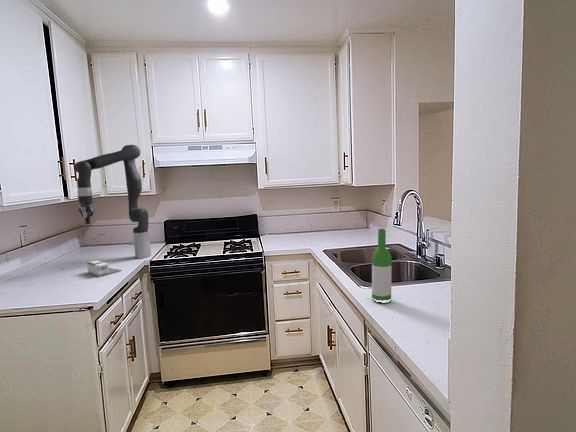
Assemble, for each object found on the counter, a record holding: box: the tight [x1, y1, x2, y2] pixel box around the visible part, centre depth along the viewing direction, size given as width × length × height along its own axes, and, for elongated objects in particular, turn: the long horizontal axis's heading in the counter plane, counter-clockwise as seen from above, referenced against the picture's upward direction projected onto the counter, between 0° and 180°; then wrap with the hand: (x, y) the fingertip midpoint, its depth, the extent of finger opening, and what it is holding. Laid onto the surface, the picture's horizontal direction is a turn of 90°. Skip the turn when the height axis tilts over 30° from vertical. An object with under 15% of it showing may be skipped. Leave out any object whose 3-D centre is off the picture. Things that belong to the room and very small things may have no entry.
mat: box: [84, 267, 122, 278], centre depth 198 cm, size 14×12×1 cm
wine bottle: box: [371, 228, 392, 301], centre depth 141 cm, size 8×8×30 cm
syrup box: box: [86, 260, 109, 275], centre depth 197 cm, size 6×6×14 cm
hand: (87, 223), depth 208 cm, fingers closed
